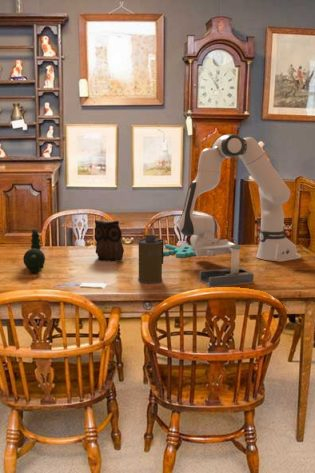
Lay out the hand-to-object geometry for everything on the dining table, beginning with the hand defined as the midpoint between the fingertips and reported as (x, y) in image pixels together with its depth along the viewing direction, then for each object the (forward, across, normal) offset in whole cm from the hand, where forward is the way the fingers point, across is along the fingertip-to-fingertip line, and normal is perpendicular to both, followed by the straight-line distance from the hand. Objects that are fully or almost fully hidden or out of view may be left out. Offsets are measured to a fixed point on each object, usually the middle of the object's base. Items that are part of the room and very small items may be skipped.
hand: (222, 253), depth 228 cm
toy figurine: (-33, -79, +10) cm, 86 cm away
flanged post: (+12, 0, +9) cm, 15 cm away
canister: (0, -34, +9) cm, 35 cm away
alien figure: (-42, -3, +10) cm, 43 cm away
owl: (-41, -41, +10) cm, 59 cm away
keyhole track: (+12, -4, +9) cm, 16 cm away
